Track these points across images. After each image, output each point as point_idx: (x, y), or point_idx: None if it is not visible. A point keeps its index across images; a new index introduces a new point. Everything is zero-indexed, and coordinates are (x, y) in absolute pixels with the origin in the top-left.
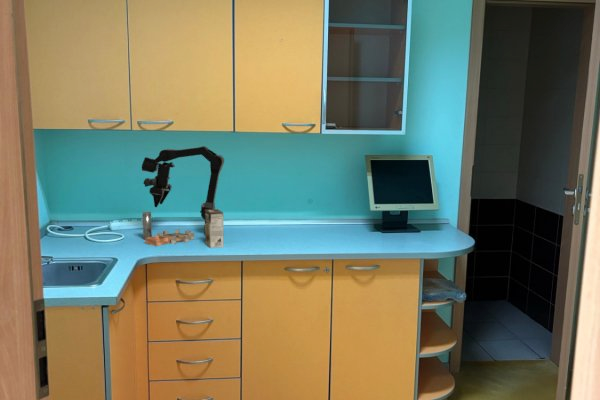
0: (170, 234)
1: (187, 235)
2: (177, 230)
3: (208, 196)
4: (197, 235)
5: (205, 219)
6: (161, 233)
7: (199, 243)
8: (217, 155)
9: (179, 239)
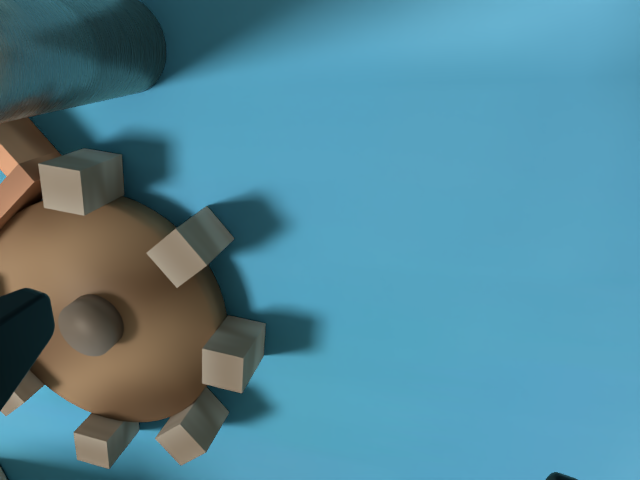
0: (169, 286)
1: (3, 407)
2: (202, 368)
3: None
4: (249, 474)
5: None
6: (58, 210)
7: (4, 431)
8: None
9: None
